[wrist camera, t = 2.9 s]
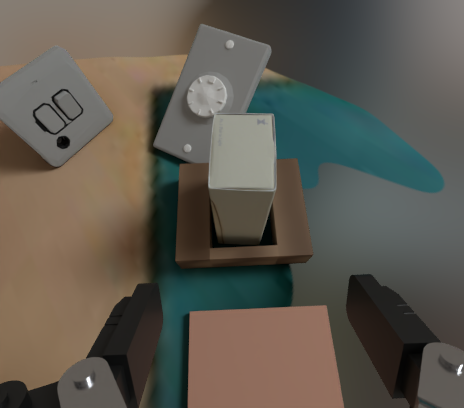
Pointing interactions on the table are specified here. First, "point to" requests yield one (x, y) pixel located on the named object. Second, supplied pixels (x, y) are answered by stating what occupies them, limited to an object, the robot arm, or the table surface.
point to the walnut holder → (281, 252)
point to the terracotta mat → (262, 359)
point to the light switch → (210, 91)
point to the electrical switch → (53, 106)
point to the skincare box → (242, 175)
